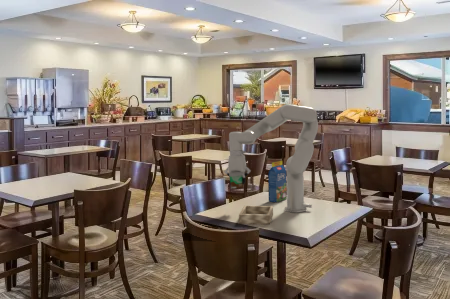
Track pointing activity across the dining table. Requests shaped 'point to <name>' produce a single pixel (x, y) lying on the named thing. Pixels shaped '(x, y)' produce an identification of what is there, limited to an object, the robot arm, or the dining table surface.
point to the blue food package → (277, 182)
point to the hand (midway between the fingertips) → (238, 184)
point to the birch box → (256, 215)
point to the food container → (236, 180)
